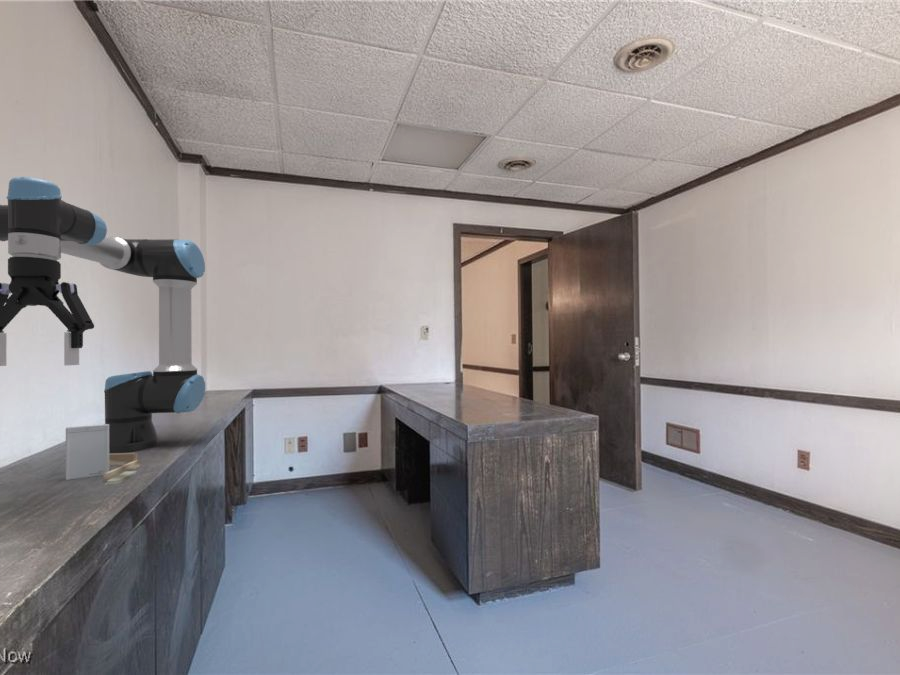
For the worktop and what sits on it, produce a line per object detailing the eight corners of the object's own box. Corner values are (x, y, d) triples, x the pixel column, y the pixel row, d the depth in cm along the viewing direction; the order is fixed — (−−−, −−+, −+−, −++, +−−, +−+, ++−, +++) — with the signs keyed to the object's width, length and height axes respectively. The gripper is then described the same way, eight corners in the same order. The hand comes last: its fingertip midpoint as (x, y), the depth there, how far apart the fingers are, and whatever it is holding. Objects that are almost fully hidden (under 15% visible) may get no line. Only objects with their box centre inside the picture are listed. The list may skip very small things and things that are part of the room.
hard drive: (108, 475, 106) (108, 425, 106) (64, 480, 102) (65, 428, 102) (109, 473, 107) (109, 423, 107) (67, 478, 103) (67, 427, 103)
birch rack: (97, 465, 115) (97, 453, 115) (148, 463, 116) (148, 452, 116) (48, 484, 99) (48, 471, 99) (108, 482, 100) (108, 469, 100)
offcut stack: (126, 476, 106) (126, 470, 106) (140, 475, 107) (140, 470, 107) (104, 487, 98) (104, 481, 98) (118, 486, 99) (118, 480, 99)
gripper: (-55, 254, 80) (-55, 367, 79) (87, 255, 82) (87, 365, 81) (-15, 261, 87) (-15, 365, 87) (115, 262, 89) (115, 363, 89)
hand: (35, 365), depth 84 cm, fingers open, 13 cm apart
